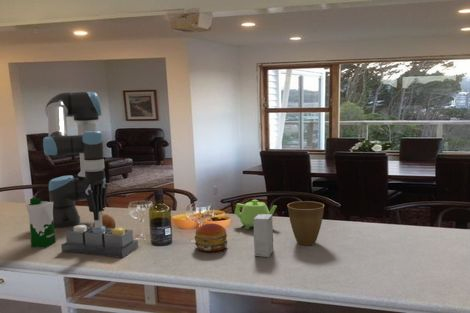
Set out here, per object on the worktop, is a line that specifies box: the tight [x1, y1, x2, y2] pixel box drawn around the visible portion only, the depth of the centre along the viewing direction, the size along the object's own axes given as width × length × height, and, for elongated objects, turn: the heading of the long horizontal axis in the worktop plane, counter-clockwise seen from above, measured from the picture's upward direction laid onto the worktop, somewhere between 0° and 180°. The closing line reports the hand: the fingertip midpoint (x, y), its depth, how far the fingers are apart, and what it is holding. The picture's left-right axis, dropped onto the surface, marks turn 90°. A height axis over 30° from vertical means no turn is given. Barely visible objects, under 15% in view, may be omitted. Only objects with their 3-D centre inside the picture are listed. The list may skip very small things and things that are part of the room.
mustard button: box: [112, 227, 126, 235], centre depth 176 cm, size 5×5×5 cm
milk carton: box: [25, 197, 57, 248], centre depth 187 cm, size 9×9×20 cm
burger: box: [193, 223, 228, 253], centre depth 178 cm, size 14×14×10 cm
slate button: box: [92, 226, 105, 233], centre depth 179 cm, size 5×5×5 cm
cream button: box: [73, 224, 87, 232], centre depth 182 cm, size 5×5×5 cm
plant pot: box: [287, 200, 325, 246], centre depth 181 cm, size 15×15×16 cm
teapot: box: [234, 199, 278, 230], centre depth 206 cm, size 20×13×13 cm
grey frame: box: [61, 226, 139, 258], centre depth 179 cm, size 12×28×8 cm, turn 73°
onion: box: [92, 212, 117, 229], centre depth 198 cm, size 10×10×10 cm
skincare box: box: [253, 214, 274, 258], centre depth 170 cm, size 8×6×15 cm
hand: (98, 227), depth 179 cm, fingers closed
